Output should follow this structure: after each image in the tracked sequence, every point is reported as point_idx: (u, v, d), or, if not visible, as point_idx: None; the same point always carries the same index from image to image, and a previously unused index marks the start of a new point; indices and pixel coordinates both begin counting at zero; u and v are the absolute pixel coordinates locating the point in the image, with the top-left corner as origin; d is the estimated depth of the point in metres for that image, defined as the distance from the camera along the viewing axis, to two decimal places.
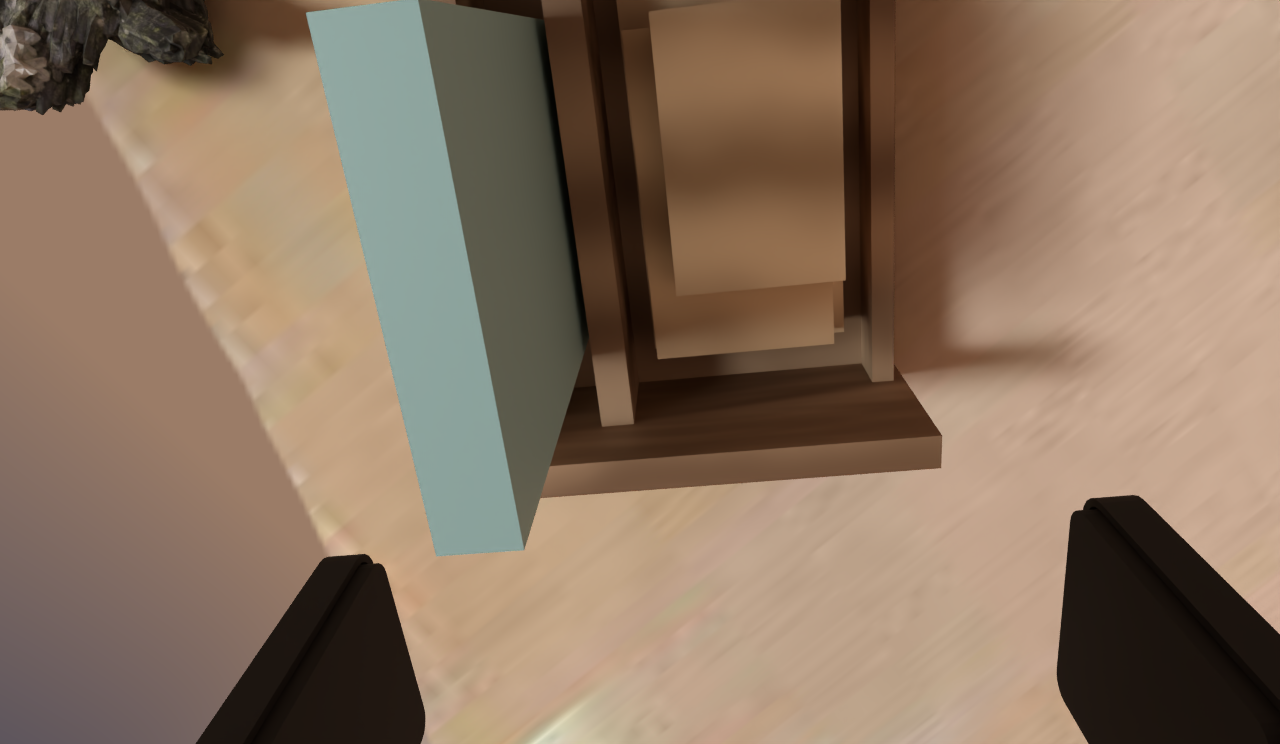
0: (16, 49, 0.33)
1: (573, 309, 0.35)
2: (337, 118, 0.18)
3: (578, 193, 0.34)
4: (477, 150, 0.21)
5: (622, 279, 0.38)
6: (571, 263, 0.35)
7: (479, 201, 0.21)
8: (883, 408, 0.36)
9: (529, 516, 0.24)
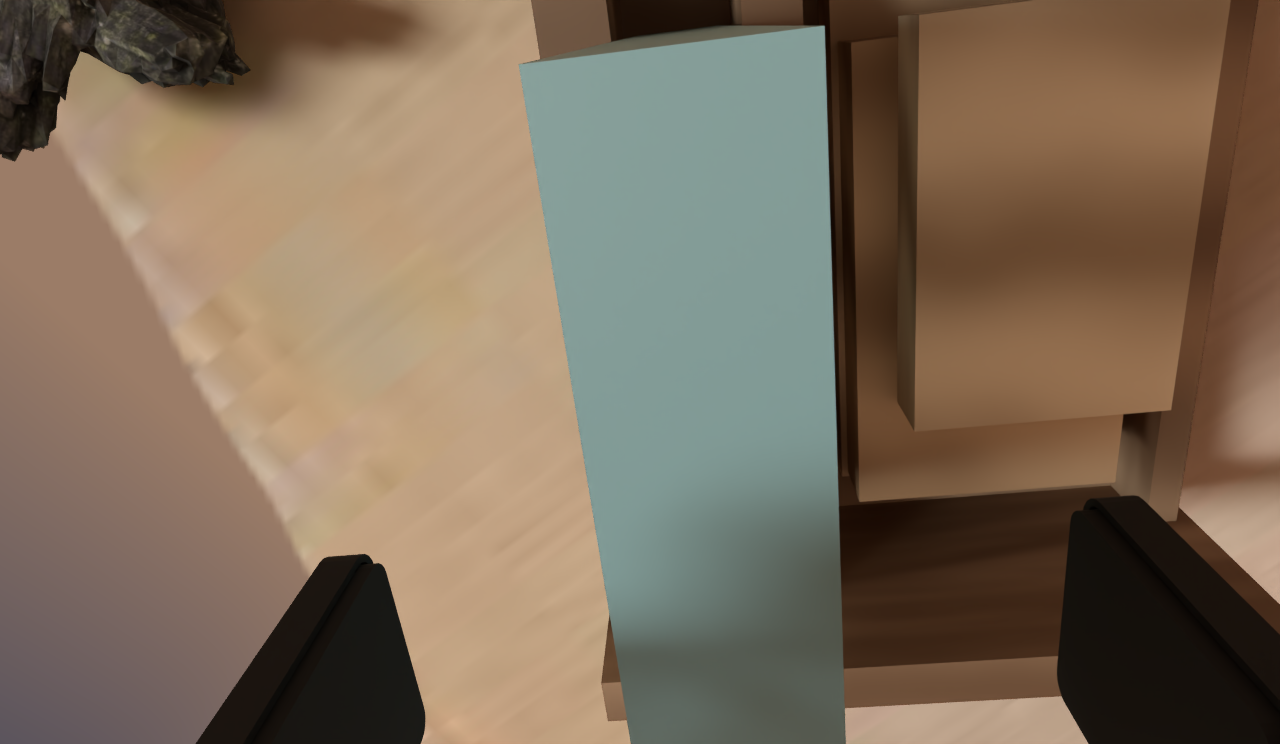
0: None
1: None
2: (575, 316, 0.08)
3: None
4: None
5: None
6: None
7: None
8: None
9: None
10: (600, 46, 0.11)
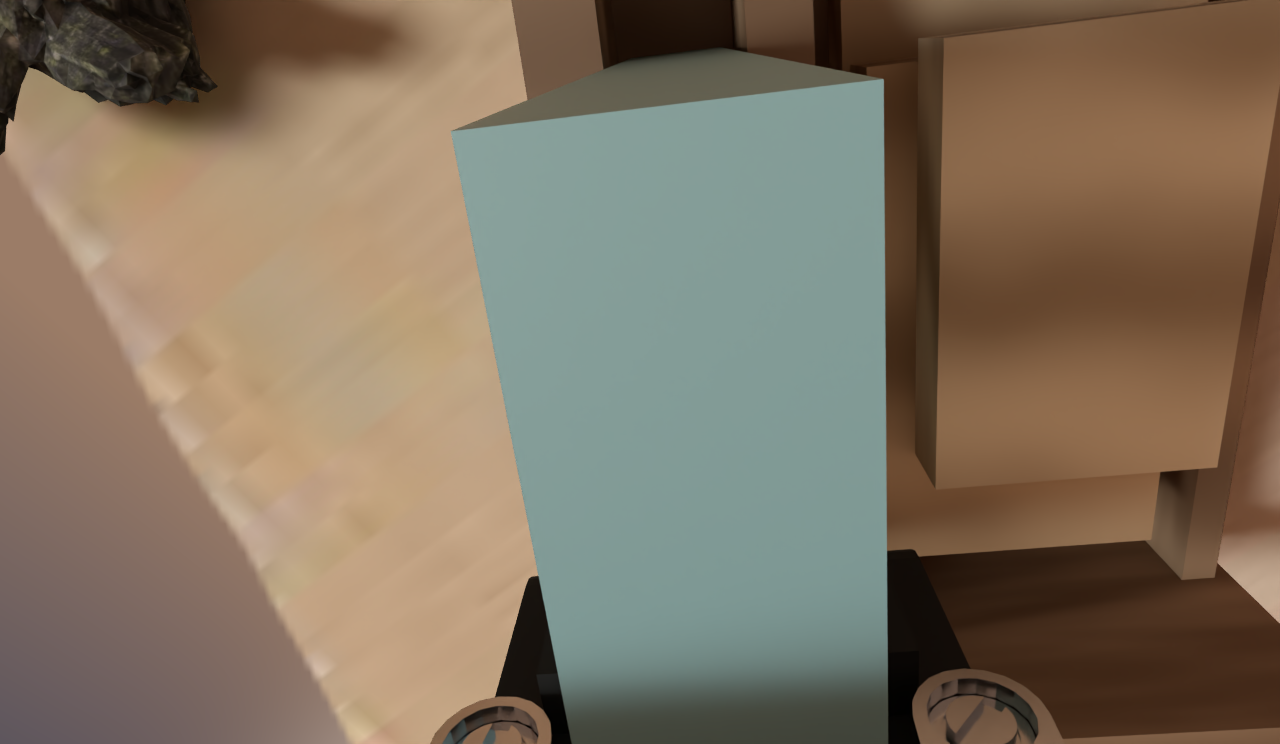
0: None
1: None
2: (536, 461, 0.06)
3: None
4: None
5: None
6: None
7: None
8: (1235, 644, 0.23)
9: None
10: (583, 83, 0.09)
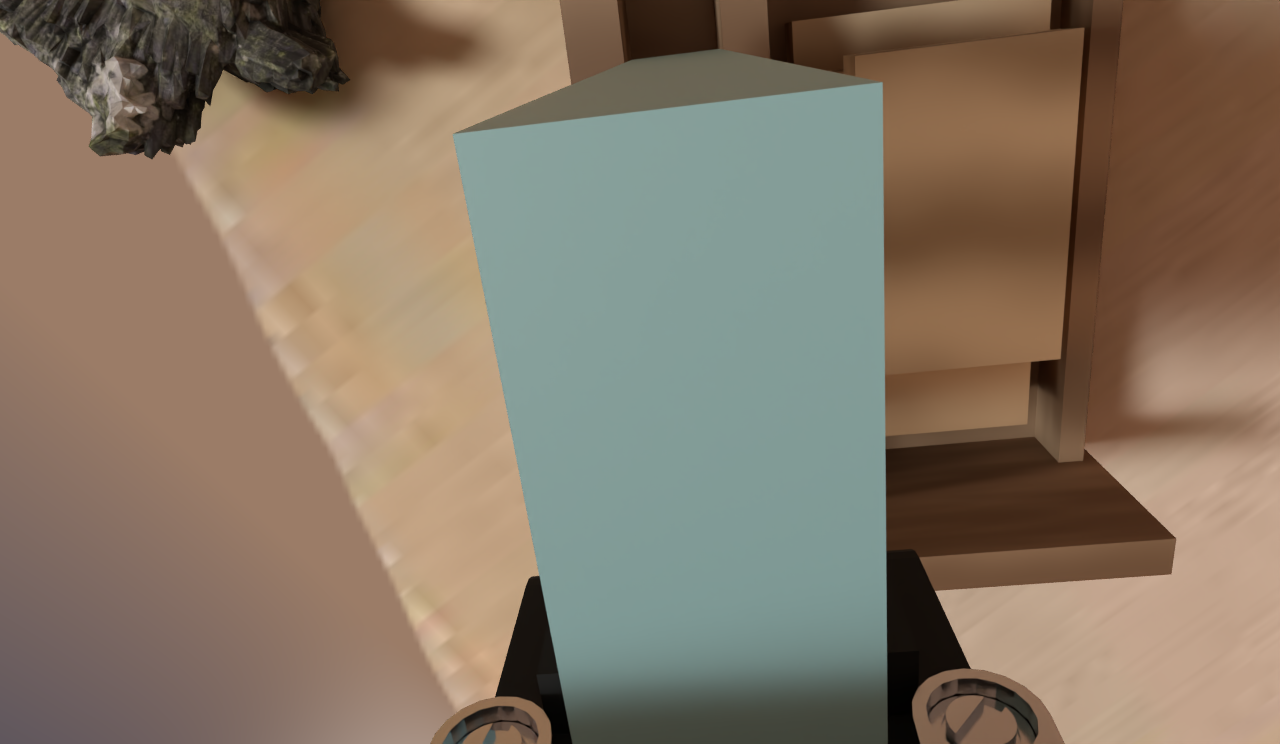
0: (122, 85, 0.28)
1: None
2: (537, 462, 0.06)
3: None
4: None
5: None
6: None
7: None
8: (1087, 498, 0.32)
9: None
10: (583, 85, 0.10)
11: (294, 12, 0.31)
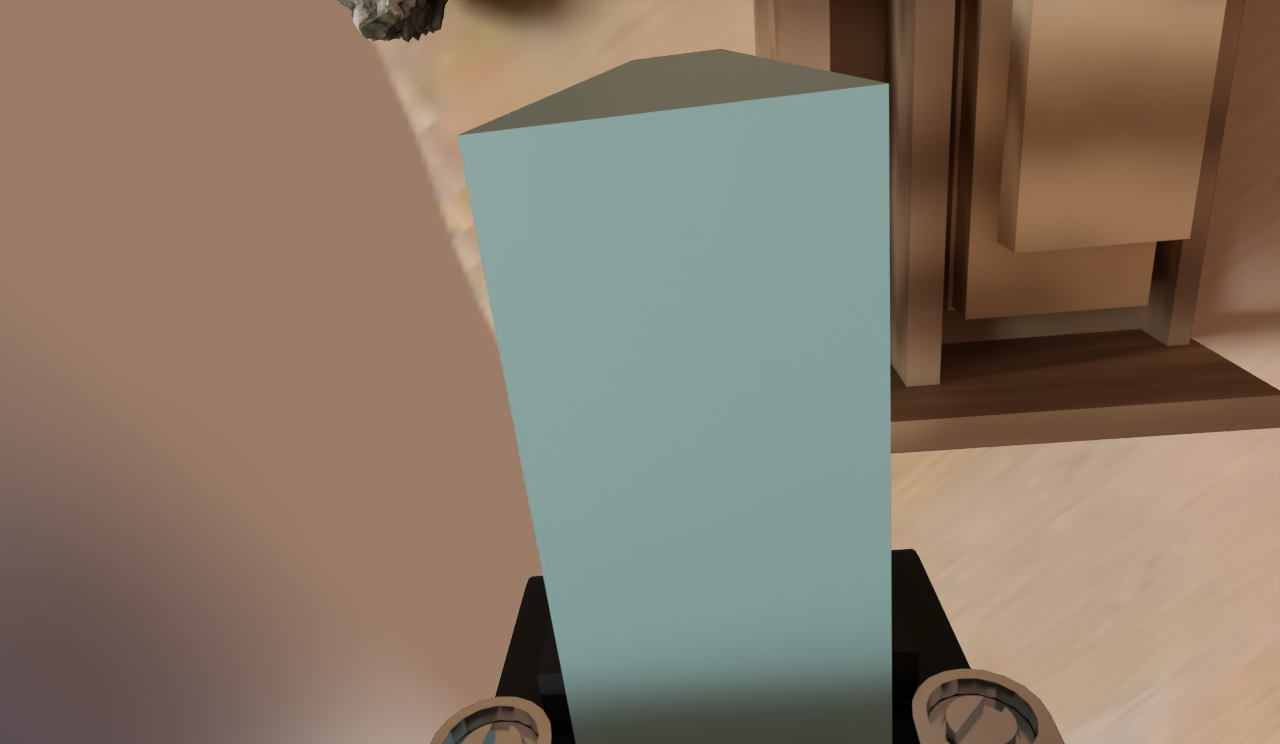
0: None
1: None
2: (541, 464, 0.06)
3: (922, 148, 0.34)
4: None
5: None
6: None
7: None
8: (1200, 369, 0.36)
9: None
10: (586, 86, 0.10)
11: None
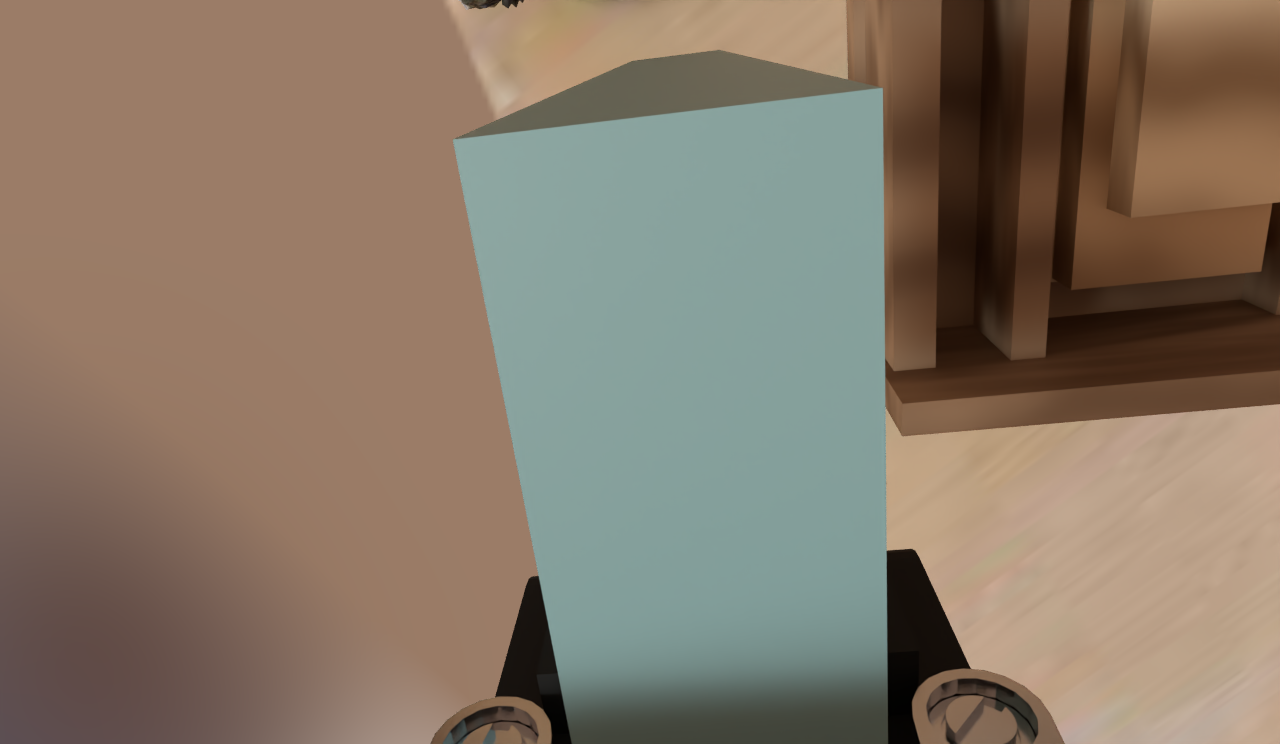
0: None
1: None
2: (537, 467, 0.06)
3: (1034, 111, 0.33)
4: None
5: None
6: None
7: None
8: None
9: None
10: (583, 88, 0.10)
11: None
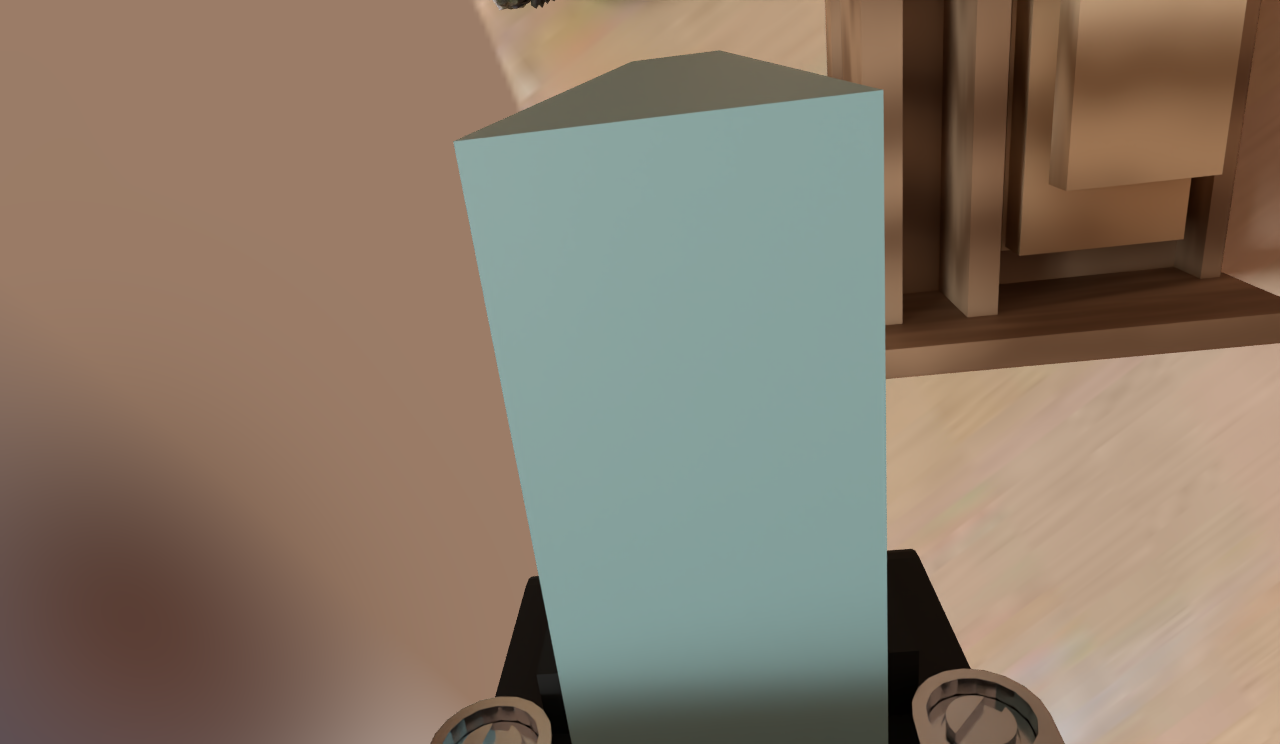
0: None
1: None
2: (538, 469, 0.06)
3: (983, 99, 0.38)
4: None
5: None
6: None
7: None
8: (1232, 295, 0.41)
9: None
10: (583, 89, 0.10)
11: None
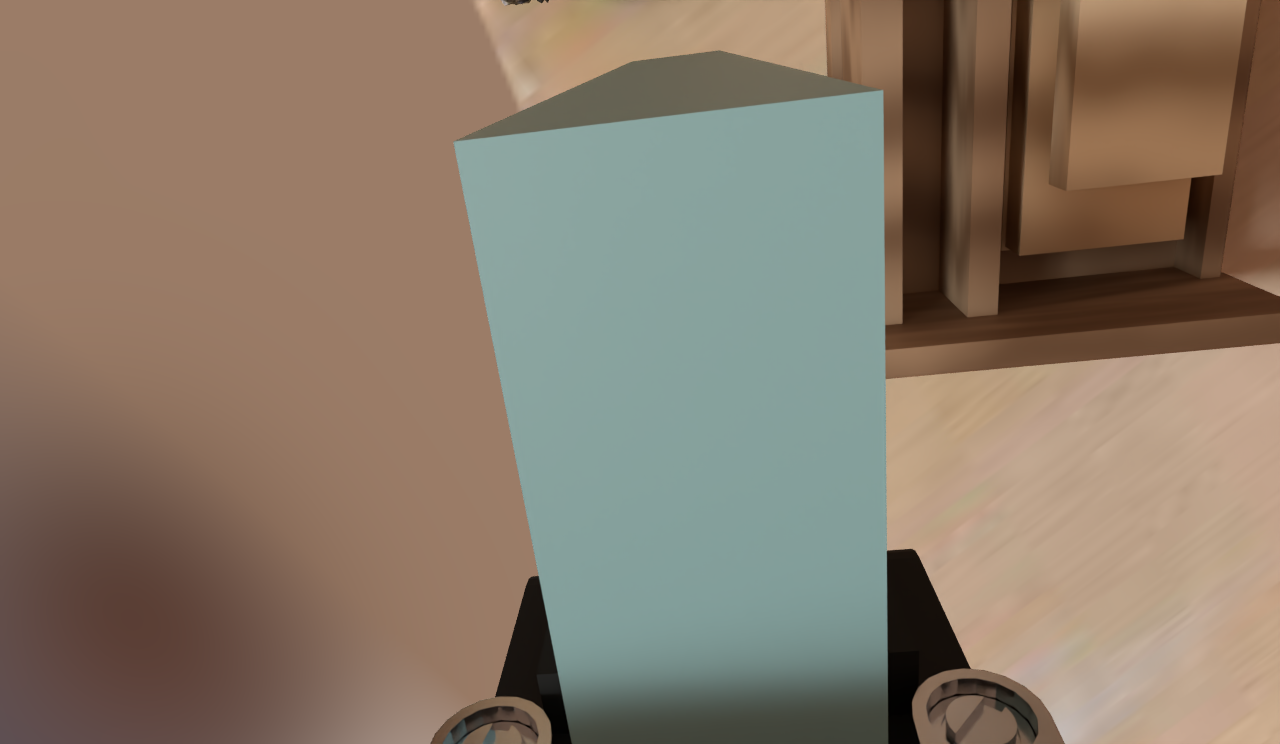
0: None
1: None
2: (538, 468, 0.06)
3: (983, 99, 0.38)
4: None
5: None
6: None
7: None
8: (1232, 295, 0.41)
9: None
10: (583, 89, 0.10)
11: None
